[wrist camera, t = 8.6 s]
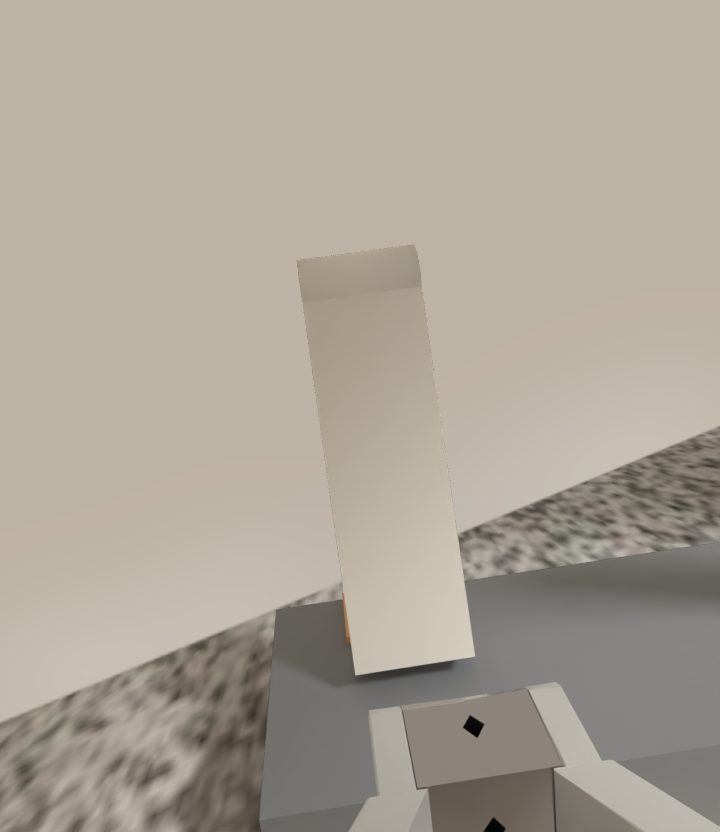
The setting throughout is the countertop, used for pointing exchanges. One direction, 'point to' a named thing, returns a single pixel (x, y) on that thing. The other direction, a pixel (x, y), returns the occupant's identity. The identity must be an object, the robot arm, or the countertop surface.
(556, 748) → the robot arm
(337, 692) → the switch unit
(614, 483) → the countertop surface
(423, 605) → the outer lever
